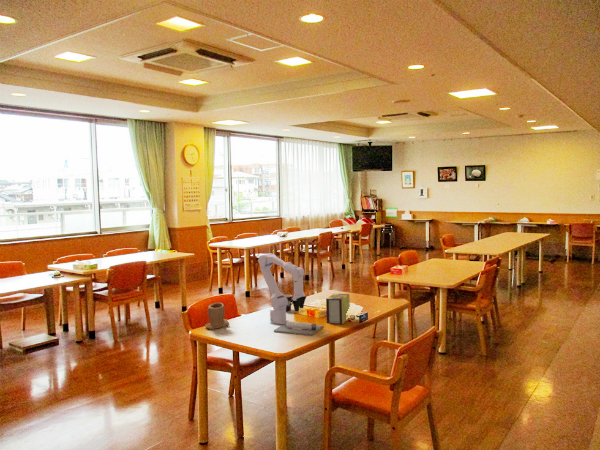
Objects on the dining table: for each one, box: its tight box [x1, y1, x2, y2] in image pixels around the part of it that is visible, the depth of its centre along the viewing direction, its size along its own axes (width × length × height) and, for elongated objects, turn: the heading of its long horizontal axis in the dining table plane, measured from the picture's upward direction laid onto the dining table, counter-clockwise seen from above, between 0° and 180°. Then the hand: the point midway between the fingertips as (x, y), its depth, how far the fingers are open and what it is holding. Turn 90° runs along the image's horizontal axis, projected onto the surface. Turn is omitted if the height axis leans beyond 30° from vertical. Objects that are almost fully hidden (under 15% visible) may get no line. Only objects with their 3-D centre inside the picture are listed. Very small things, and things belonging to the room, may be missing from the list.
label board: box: [273, 323, 324, 337], centre depth 297 cm, size 24×18×1 cm
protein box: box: [325, 292, 351, 325], centre depth 314 cm, size 10×15×16 cm
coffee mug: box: [284, 294, 293, 312], centre depth 344 cm, size 12×9×10 cm
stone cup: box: [204, 302, 230, 330], centre depth 307 cm, size 15×12×15 cm
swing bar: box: [286, 321, 317, 330], centre depth 295 cm, size 18×3×3 cm, turn 67°
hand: (299, 309), depth 304 cm, fingers open, 7 cm apart
